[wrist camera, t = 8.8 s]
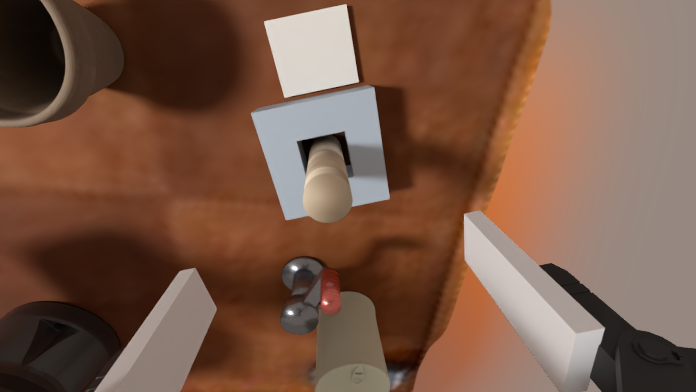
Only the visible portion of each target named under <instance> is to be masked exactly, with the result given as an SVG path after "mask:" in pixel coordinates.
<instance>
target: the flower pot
mask: <svg viewBox="0 0 696 392" xmlns="http://www.w3.org/2000/svg"><path fill="white" fill-rule="evenodd" d="M123 68H124V53H123V49H122V46H121V43H120V41H119V39H118V38H117V36H116V34H115V33H114V32H113V30H112V29H111V28H110V27H109V26H108V25H107V24H106V23H105V22H104V21H102V20H101V19H100V18H99V17H97V16H96V15H94V14H93V13H91V12H90V11H89V10H87V9H86V8H84V7H83V6H81V5H80V4H78V3H76V2H75V1H73V0H0V126H2V127H29V126H35V125H39V124H42V123H48V122H53V121H57V120H60V119H63V118H65V117H67V116H69V115H71V114H72V113H74V112H75V111H76V110H78V109H79V108H80V107H81V106H82V105H83V104H84V102H85V101H86V100H87V98H88V96H90V95H92V94H94V93H96V92H98V91H100V90H102V89H103V88H105V87H107V86H108V85H110V84H111V83H113V82H114V81H116V80H117V79H118V78H119V76H120V75H121V73H122V71H123Z"/></svg>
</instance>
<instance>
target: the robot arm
mask: <svg viewBox="0 0 696 392" xmlns="http://www.w3.org/2000/svg"><path fill="white" fill-rule="evenodd" d="M464 242H465V261H466V262H467V264H468V265H469V266H470V268H471V269H472V271H473V272H474V273H475V275H476V276H477V278H478V279H479V280H480V282H481V283H482V284H483V286H484V287H485V289H486V290H487V291H488V293H489V294H490V296H491V297H492V298H493V300H494V301H495V302H496V304H497V305H498V307H499V308H500V310H501V311H502V312H503V314H504V315H505V316H506V318H507V319H508V321H509V322H510V323H511V325H512V326H513V328H514V329H515V331H516V332H517V333H518V335H519V336H520V337H521V339H522V340H523V342H524V343H525V344H526V346H527V347H528V349H529V350H530V351H531V353H532V354H533V356H534V357H535V358H536V360H537V361H538V363H539V364H540V365H541V367H542V368H543V370H544V371H545V372H546V374H547V375H548V377H549V378H550V379H551V381H552V382H553V384H554V385H555V386H556V388H557V389H558V391H559V392H583V391H587V389H588V385H589V382H590V379H592V381H593V382H594V383H595V384H596V385H597V386H598V388H599V389H600V390H601V392H696V349H694V348H684V347H677V346H676V345H674V344H672V343H671V342H669V341H668V340H666V339H664V338H663V337H660V336H658V335H655V334H652V333H650V332H646V331H640V330H636V329H635V328H634V327H632V326H631V325H630V324H629V323H627V322H626V321H625V320H624V319H623V318H621V317H620V316H619V315H618V314H617V313H616V312H615V311H614V310H612V309H611V308H610V307H609V306H608V305H606V304H605V303H604V302H603V301H602V300H601V299H599V298H598V297H597V296H596V295H595V294H593V293H591V292H590V290H589V289H588V288H586V287H585V286H584V285H583V284H580V282H579V281H578V280H577V279H576V278H575V277H574V276H572V275H571V274H570V273H569V272H568V271H566V270H564V269H562V268H560V267H558V266H556V265H554V264H552V263H550V264H544V265H539V266H538V265H537V264H536V263H535V262H534V261H533V260H532V259H531V258H530V257H529V256H528V255H527V254H526V253H524V251H522V250H521V249H520V248H519V247H518V246H517V245H516V244H515V243H514V242H513V241H512V240H511V239H510V238H509V237H508V236H506V235H505V234H504V233H503V232H502V231H501V230H500V229H499V228H498V227H497V226H496V225H495V224H494V223H493V222H492V221H491V220H489V219H488V218H487V217H486V216H485V215H484V214H483V213H482V212H481V211H476V212H471V213H466V214H464ZM216 310H217V308H216V306H215V304H214V302H213V300H212V298H211V296H210V294H209V293H208V291H207V289H206V287H205V285H204V283H203V281H202V279H201V278H200V276H199V274H198V272H197V270H196V268H192V269H187V270H182V271H179V273H178V274H177V276H176V277H175V278H174V280H173V281H172V283H171V284H170V286H169V287H168V288H167V290H166V291H165V293H164V294H163V295H162V297H161V298H160V300H159V301H158V302H157V304H156V305H155V307H154V308H153V310H152V311H151V312H150V314H149V315H148V317H147V318H146V319H145V321H144V322H143V324H142V325H141V327H140V328H139V329H138V331H137V332H136V334H135V335H134V336H133V338H132V339H131V341H130V342H129V343H128V345H127V346H126V348H124V349H120V346H119V341H118V338H117V336H116V335H115V333H114V332H113V330H112V329H111V328H110V327H109V326H108V325H107V324H106V323H105V322H104V321H102V320H101V319H99V318H98V317H96V316H95V315H93V314H91V313H89V312H87V311H85V310H82V309H80V308H77V307H74V306H70V305H66V304H61V303H53V302H36V303H29V304H25V305H22V306H19V307H17V308H15V309H13V310H11V311H10V312H9V313H8V314H6V315H5V316H4V317H2V318H1V319H0V392H85V391H86V390H87V392H180V391H181V389H182V387H183V385H184V382H185V380H186V378H187V376H188V373H189V371H190V369H191V367H192V364H193V362H194V360H195V358H196V355H197V353H198V351H199V349H200V346H201V344H202V342H203V340H204V337H205V335H206V333H207V331H208V328H209V326H210V324H211V322H212V319H213V317H214V315H215V313H216Z"/></svg>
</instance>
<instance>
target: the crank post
mask: <svg viewBox="0 0 696 392" xmlns="http://www.w3.org/2000/svg"><path fill="white" fill-rule="evenodd" d="M322 268H323V265H322V264H321V263H320V262H319V261H318V260H316V259H314V258H312V257H307V256H300V257H296V258H293V259H291V260H290V261H288V262H287V263H286V265H285V266H284V268H283V272H282V280H283V282H284V284H285V285H286V286H287V287H288V288H289V289H291V290H292V291H291V296H292V295H296V294H305V292H306V291H307V289H308V288H309V287H310V285H311V284H312V282H313V281H314V279H315V278H316V276H317V275H318V273H319V272H320V271H321V269H322Z"/></svg>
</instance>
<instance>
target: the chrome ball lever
mask: <svg viewBox="0 0 696 392" xmlns="http://www.w3.org/2000/svg"><path fill="white" fill-rule="evenodd" d="M319 302H320V309H321V311H322V312H323V313H324V314H326V315H334V314H336V313H338V312H339V311H340V310H341V297H340V284H339V274H338V272H337V271H336V270H334V269H328V268H326V267H323V268H322V269H321V271H320V272H319V273H318V275H317V276H316V278H315V279H314V281H313V282H312V284H311V285H310V287H309V288H308V289H307V291H306V292H305V294H296V295H292V296H290V297H289V298H287V299H286V300H285V301H284V303H283V307H282V313H281V319H280V323H281V326H282V327H283V329H284V330H286V331H287V332H289V333H292V334H306V333H309V332H311V331H313V330H314V329H315V328H316V327H317V325H318V322H319V305H318V303H319Z"/></svg>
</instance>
